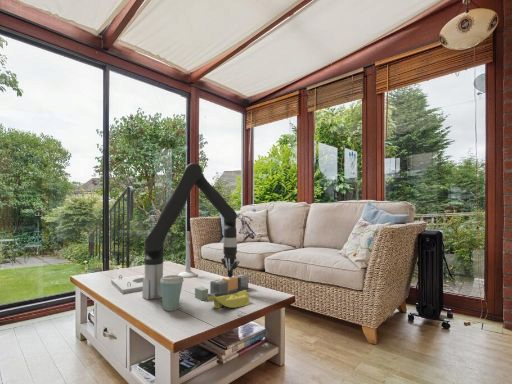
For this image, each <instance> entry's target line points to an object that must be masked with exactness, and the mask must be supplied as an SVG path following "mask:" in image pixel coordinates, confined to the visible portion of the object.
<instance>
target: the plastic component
mask: <svg viewBox="0 0 512 384" xmlns="http://www.w3.org/2000/svg"><path fill="white" fill-rule="evenodd" d="M206 300H207V301H208V302H213V304H214V309H220V308H222V307H223V306H224V307H227V308H231V309H233V308H234V309H235V308H239V307H244V306H245V307H246V306H248V305H249V304H250V301H251V300H250V297H249V294H248V291H247V289H245V290H242V291H240V290H239V291H238V292H236V293H228V294H227V295H224V296H218V297H216V296H215V295H212V296H209V297H207V299H206Z"/></svg>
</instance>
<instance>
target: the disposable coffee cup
mask: <svg viewBox="0 0 512 384" xmlns="http://www.w3.org/2000/svg"><path fill="white" fill-rule="evenodd" d="M183 282H184V278H182V276H179V275H178V274H175V275H174V274H172V275H166V276H164V277H162V278H161V280H160V283H161V292H162V297H161V300H162V301H161V302H162V307H163V310H164V311H169V312H170V311H171V312H172V311H176V310H178V308H179V303H180V298H181V293H182V287H183Z"/></svg>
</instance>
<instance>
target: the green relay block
mask: <svg viewBox="0 0 512 384" xmlns="http://www.w3.org/2000/svg"><path fill="white" fill-rule="evenodd" d="M208 294H209V288H208V287H204V286H199V287H198V286H197V287H194V298H195V299H197V300H200V301H205V300H207V297H208Z"/></svg>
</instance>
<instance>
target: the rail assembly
mask: <svg viewBox="0 0 512 384" xmlns="http://www.w3.org/2000/svg"><path fill="white" fill-rule="evenodd" d="M233 276H234V277H238V288H237V289H234V290H230V291H228V282H227V281H224V280H222V279H215V280H211V281H210V282H209V283H210V287H209V288H210V289H209V290H210V292H208V297H209V296H212V295H215V296H216V297H218V296H224V295H229V294H232V293H234V292H237V291H238V292H240V291H243V290H247V289H249V275H245V274H241V273H239V274H236V275H235V274H233Z"/></svg>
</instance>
